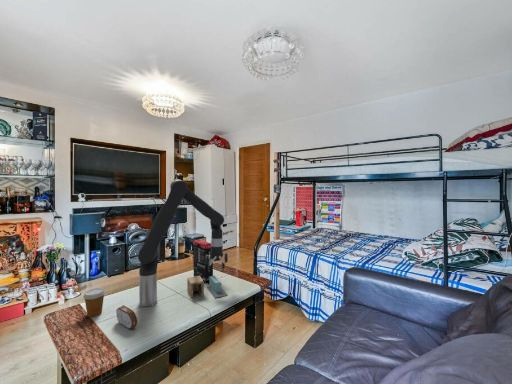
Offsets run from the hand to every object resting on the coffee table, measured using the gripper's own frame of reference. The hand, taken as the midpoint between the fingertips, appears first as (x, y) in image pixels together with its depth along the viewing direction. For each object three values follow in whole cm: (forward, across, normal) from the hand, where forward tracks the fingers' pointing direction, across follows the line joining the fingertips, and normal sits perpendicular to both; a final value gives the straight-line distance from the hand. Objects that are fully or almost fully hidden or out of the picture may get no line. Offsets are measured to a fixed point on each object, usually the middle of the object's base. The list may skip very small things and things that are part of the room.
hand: (216, 270), depth 154 cm
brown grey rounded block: (+15, -51, -16) cm, 55 cm away
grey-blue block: (+13, 0, +4) cm, 14 cm away
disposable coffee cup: (+15, -66, +4) cm, 67 cm away
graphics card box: (+14, -1, +26) cm, 29 cm away
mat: (+14, 0, 0) cm, 14 cm away
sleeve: (+14, -13, +3) cm, 19 cm away
